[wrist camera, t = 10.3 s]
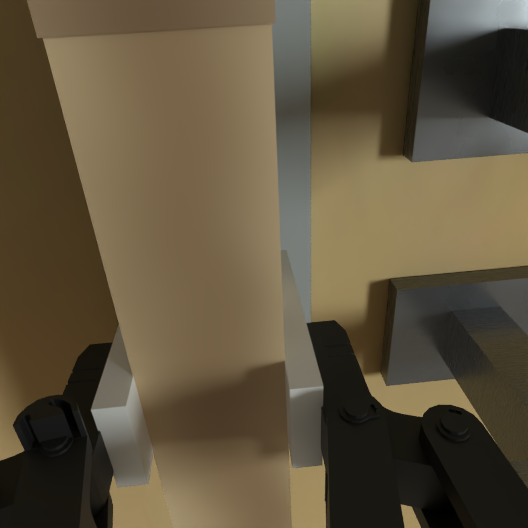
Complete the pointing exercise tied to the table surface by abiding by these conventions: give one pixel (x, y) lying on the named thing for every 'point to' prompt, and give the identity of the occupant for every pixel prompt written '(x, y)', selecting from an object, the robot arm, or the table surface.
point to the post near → (468, 80)
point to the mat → (294, 137)
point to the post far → (466, 345)
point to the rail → (187, 233)
